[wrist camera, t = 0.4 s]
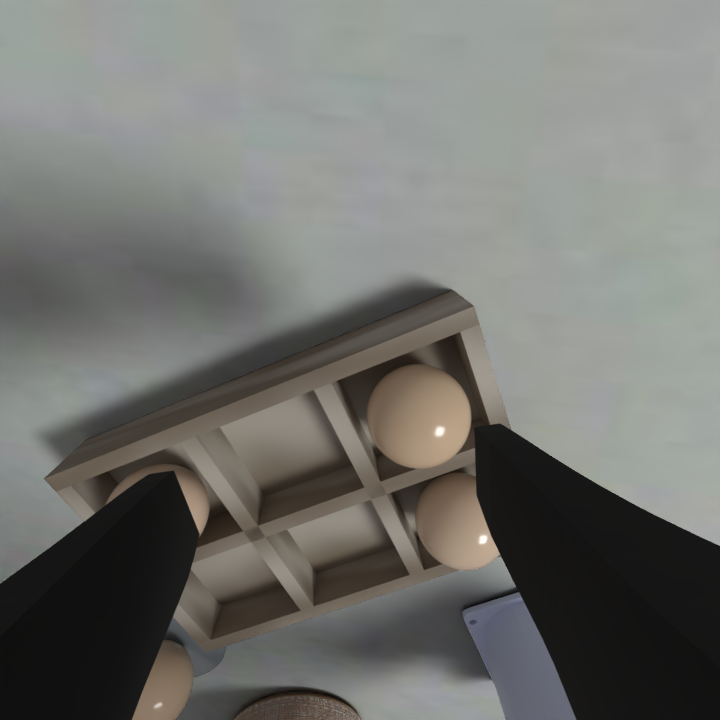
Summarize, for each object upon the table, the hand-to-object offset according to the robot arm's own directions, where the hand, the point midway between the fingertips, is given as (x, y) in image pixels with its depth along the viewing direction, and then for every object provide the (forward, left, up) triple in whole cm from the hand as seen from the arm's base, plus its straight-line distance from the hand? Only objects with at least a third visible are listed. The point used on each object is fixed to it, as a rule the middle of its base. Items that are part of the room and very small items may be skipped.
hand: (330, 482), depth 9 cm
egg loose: (-14, +18, -8) cm, 24 cm away
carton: (-6, +4, -10) cm, 13 cm away
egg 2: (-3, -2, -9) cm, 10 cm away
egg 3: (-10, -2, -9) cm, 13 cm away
